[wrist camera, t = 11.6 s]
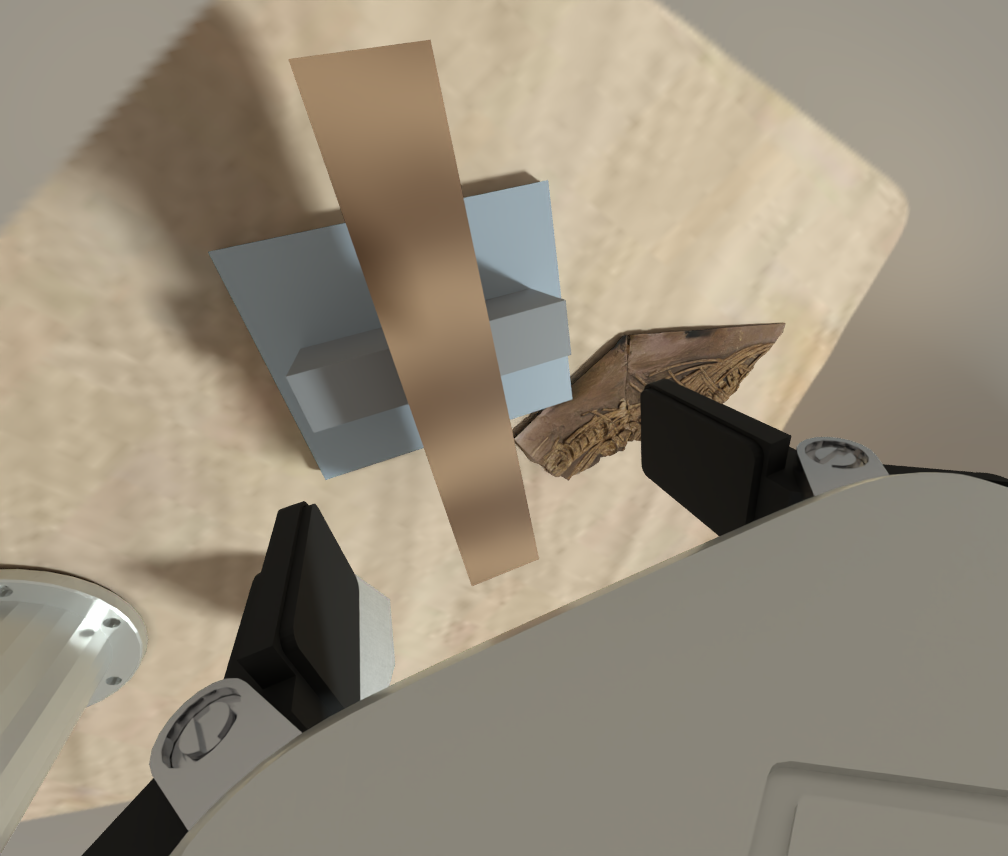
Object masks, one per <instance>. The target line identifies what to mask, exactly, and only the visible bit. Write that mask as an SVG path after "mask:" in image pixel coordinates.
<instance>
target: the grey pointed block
mask: <svg viewBox="0 0 1008 856" xmlns="http://www.w3.org/2000/svg"><path fill="white" fill-rule="evenodd" d="M355 576H356V578H357V581H358V585H359V609H360V700H362V699H364V698H366V697H368V696H370V695H372V694H374V693H376V692H378V691H380V690H382V689H385V688H387V687H389V685H390V681H391V678H392V674H393V670H394V667H395V657H394V644H393V632H392V619H391V607H390V599H389V598H387V597H386V596H385V595H383V594H382V593H380V592H379V591H378V590H376V589H375V588H374V587H372V586H371V585H369V584H368V583H367V582H365V581H364V580H362V579H361V578H360V577H358V576H357V575H355Z"/></svg>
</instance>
